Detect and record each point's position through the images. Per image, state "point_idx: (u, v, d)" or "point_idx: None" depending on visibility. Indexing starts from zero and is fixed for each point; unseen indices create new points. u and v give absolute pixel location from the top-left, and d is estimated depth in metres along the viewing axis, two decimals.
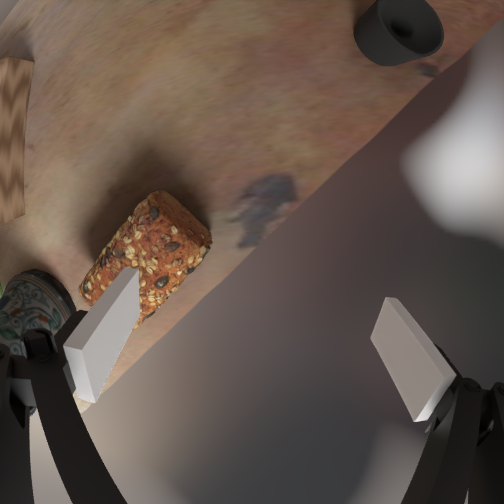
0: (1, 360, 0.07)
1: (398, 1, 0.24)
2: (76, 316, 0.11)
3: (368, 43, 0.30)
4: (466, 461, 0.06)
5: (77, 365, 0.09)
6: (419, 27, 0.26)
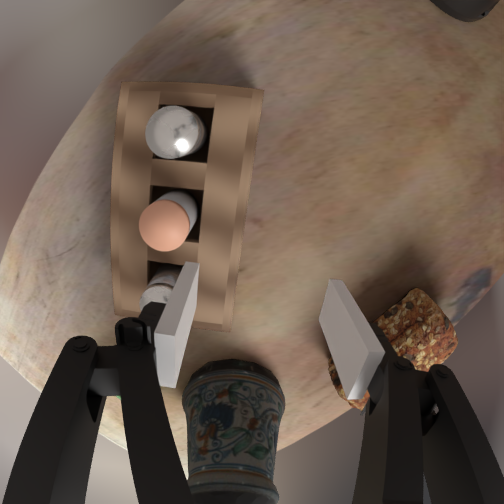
0: (85, 353, 0.08)
1: None
2: (150, 307, 0.13)
3: None
4: (414, 446, 0.06)
5: (165, 352, 0.10)
6: None
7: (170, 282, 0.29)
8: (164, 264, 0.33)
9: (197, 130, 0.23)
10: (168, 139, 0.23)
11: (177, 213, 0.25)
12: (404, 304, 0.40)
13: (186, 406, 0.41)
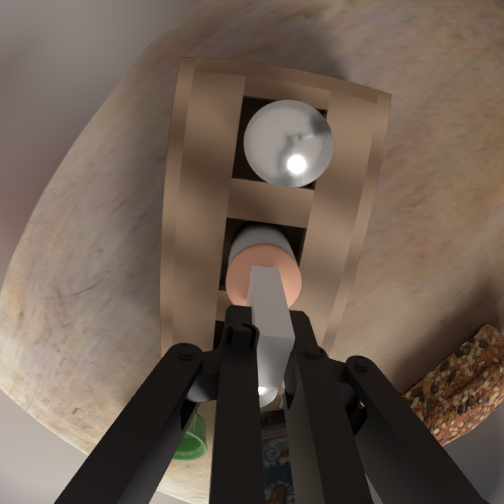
0: (189, 362, 0.09)
1: None
2: (232, 310, 0.14)
3: None
4: (345, 442, 0.07)
5: (262, 352, 0.11)
6: None
7: None
8: None
9: (331, 145, 0.14)
10: (284, 156, 0.14)
11: (288, 266, 0.17)
12: (477, 342, 0.31)
13: None
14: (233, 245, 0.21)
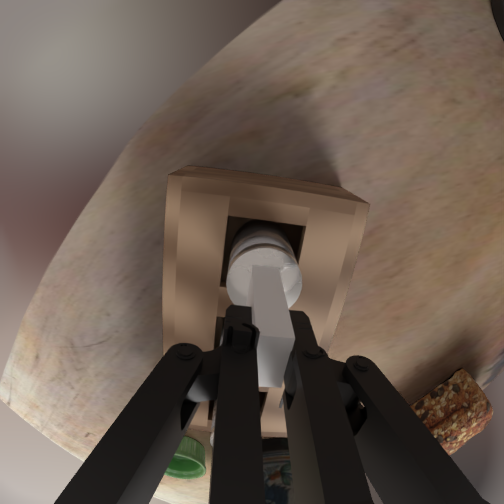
0: (189, 362, 0.09)
1: None
2: (232, 310, 0.14)
3: None
4: (345, 442, 0.07)
5: (262, 352, 0.11)
6: None
7: None
8: None
9: (300, 283, 0.18)
10: None
11: None
12: (451, 386, 0.35)
13: None
14: (223, 330, 0.25)
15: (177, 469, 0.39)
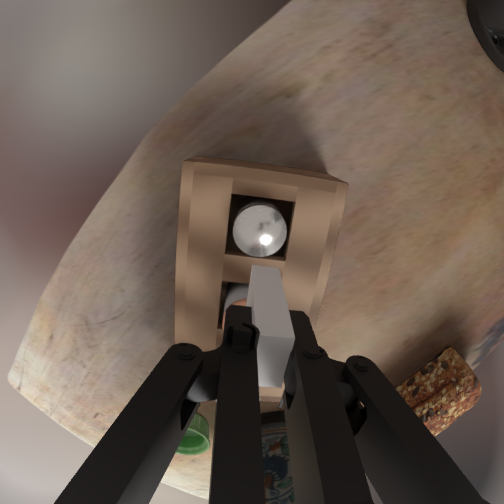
0: (189, 362, 0.09)
1: None
2: (232, 310, 0.14)
3: None
4: (345, 442, 0.07)
5: (262, 352, 0.11)
6: None
7: None
8: None
9: (285, 231, 0.25)
10: (257, 239, 0.25)
11: None
12: (439, 363, 0.40)
13: None
14: (227, 295, 0.29)
15: (182, 445, 0.44)
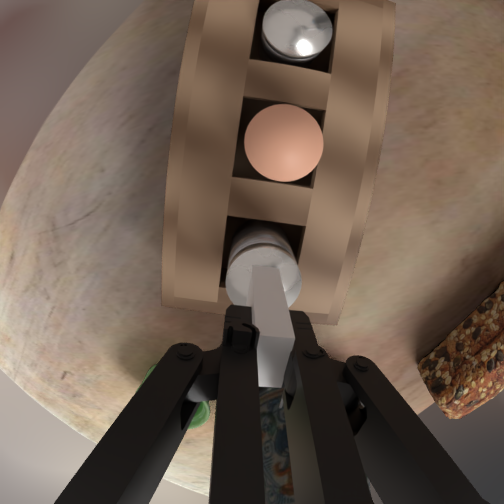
0: (189, 362, 0.09)
1: None
2: (232, 310, 0.14)
3: None
4: (345, 442, 0.07)
5: (262, 352, 0.11)
6: None
7: (277, 242, 0.18)
8: (249, 223, 0.22)
9: (331, 29, 0.15)
10: (294, 33, 0.15)
11: (309, 123, 0.16)
12: (499, 297, 0.29)
13: None
14: None
15: None
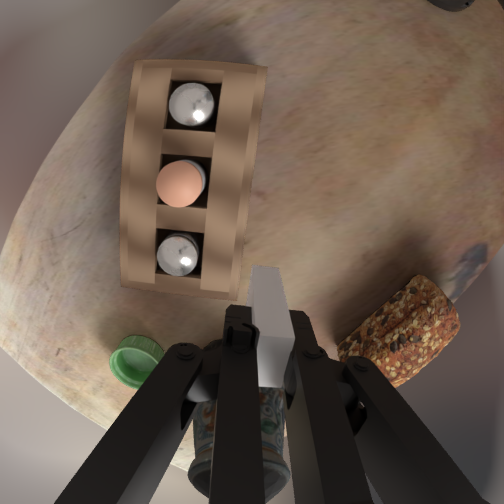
0: (189, 362, 0.09)
1: None
2: (232, 310, 0.14)
3: None
4: (345, 442, 0.07)
5: (262, 352, 0.11)
6: None
7: (185, 234, 0.33)
8: None
9: (212, 102, 0.27)
10: (188, 109, 0.27)
11: (192, 171, 0.28)
12: (408, 290, 0.42)
13: None
14: None
15: (138, 380, 0.45)
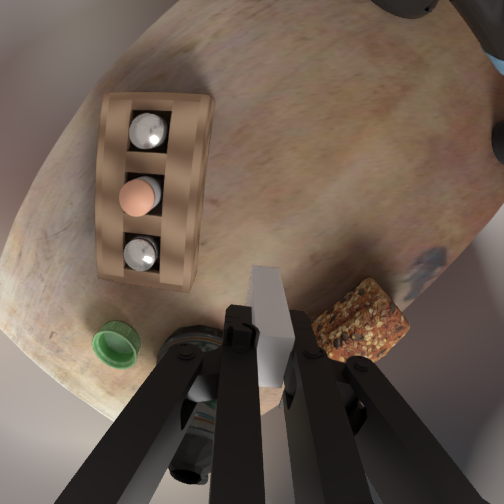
0: (189, 362, 0.09)
1: None
2: (232, 310, 0.14)
3: None
4: (345, 442, 0.07)
5: (262, 352, 0.11)
6: None
7: (146, 237, 0.39)
8: None
9: (163, 129, 0.33)
10: (144, 136, 0.33)
11: (145, 188, 0.34)
12: (357, 291, 0.48)
13: None
14: None
15: (117, 360, 0.51)
